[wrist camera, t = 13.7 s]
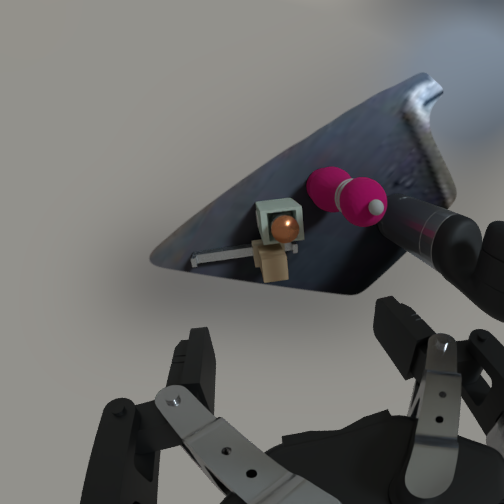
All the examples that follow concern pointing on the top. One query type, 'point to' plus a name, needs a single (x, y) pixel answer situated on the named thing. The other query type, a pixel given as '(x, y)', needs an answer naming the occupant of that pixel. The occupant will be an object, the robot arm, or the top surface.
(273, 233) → the plunger
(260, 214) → the cabinet
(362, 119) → the top surface
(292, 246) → the rail
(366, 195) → the pepper mill
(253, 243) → the carriage
